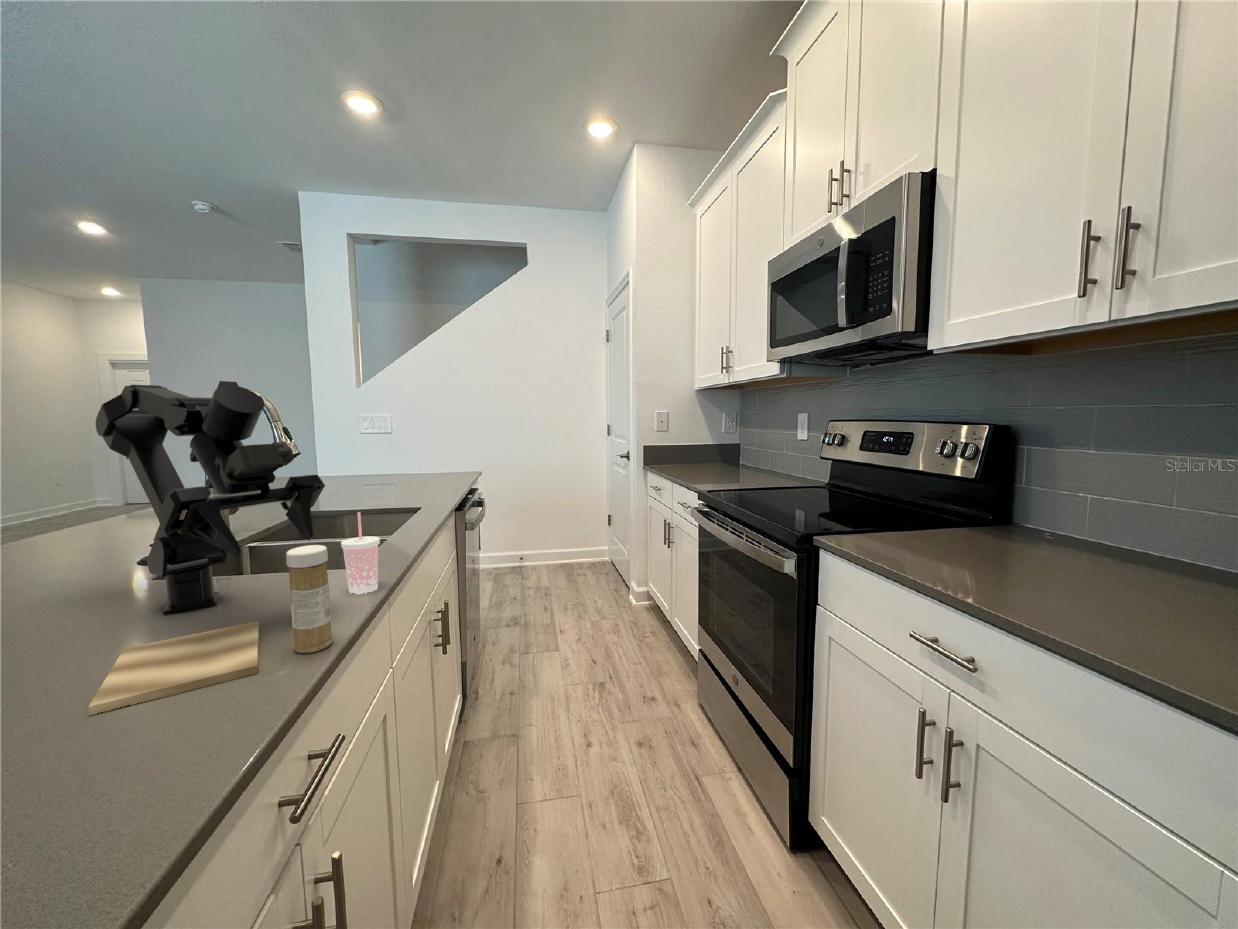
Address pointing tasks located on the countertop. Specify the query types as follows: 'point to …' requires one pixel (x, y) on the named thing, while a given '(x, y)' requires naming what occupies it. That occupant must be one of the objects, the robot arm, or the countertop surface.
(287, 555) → the sprinkles bottle
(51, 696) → the countertop surface
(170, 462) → the robot arm
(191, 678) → the oak board
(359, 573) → the beverage cup
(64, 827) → the countertop surface
